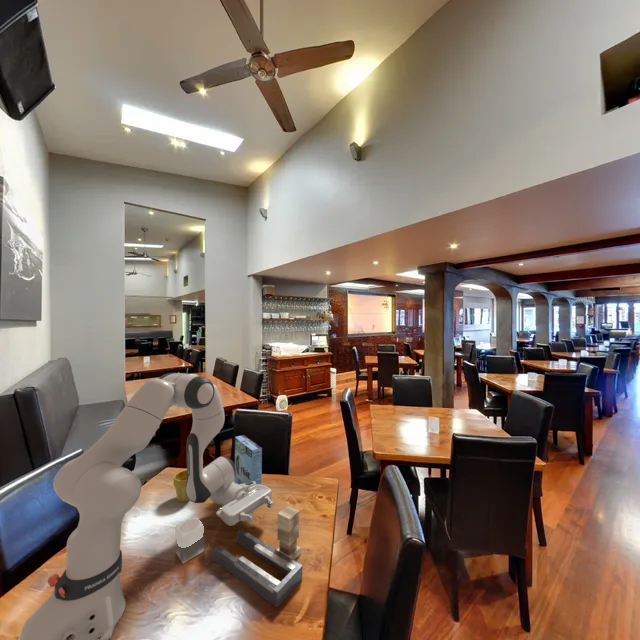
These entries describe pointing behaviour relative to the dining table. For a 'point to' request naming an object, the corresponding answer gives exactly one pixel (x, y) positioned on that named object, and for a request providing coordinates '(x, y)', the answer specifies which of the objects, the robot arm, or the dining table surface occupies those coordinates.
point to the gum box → (247, 461)
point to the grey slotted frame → (255, 575)
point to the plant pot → (181, 485)
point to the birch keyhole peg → (288, 532)
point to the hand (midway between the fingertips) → (262, 511)
